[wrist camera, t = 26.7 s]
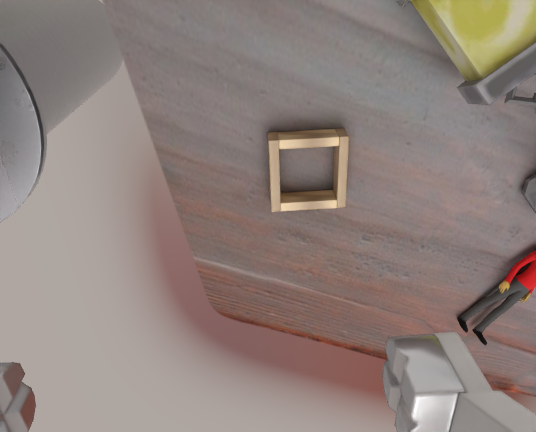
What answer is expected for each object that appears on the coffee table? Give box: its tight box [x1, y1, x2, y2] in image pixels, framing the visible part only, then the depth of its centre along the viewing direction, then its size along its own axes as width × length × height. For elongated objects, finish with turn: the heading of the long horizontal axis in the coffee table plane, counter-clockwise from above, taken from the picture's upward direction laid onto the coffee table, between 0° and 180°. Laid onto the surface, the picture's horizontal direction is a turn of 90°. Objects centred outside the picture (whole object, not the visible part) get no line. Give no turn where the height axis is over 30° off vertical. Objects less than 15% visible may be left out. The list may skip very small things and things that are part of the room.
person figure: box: [457, 250, 536, 345], centre depth 55 cm, size 5×4×18 cm
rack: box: [267, 128, 349, 212], centre depth 47 cm, size 8×8×2 cm
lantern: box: [396, 0, 536, 213], centre depth 41 cm, size 8×17×30 cm
